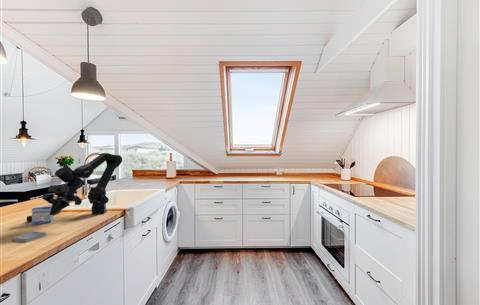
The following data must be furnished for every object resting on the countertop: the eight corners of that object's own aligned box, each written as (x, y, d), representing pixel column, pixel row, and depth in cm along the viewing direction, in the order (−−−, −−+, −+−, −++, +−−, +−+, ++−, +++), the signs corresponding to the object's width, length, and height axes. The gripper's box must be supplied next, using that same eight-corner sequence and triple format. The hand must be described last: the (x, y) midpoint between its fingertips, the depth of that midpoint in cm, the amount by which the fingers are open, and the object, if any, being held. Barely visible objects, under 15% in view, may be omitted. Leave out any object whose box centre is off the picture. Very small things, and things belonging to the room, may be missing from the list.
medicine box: (31, 225, 113) (31, 208, 113) (34, 222, 117) (34, 206, 117) (51, 222, 117) (50, 206, 117) (53, 220, 121) (53, 204, 121)
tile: (31, 231, 101) (11, 237, 94) (45, 232, 99) (26, 239, 92) (31, 235, 101) (11, 241, 94) (45, 236, 99) (26, 243, 92)
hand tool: (32, 223, 117) (32, 214, 117) (25, 223, 117) (25, 214, 117) (64, 213, 136) (64, 205, 136) (58, 213, 136) (58, 205, 136)
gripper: (44, 178, 112) (20, 205, 101) (75, 178, 108) (53, 207, 98) (60, 190, 120) (40, 217, 109) (90, 191, 116) (71, 218, 106)
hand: (50, 214), depth 105 cm, fingers closed
